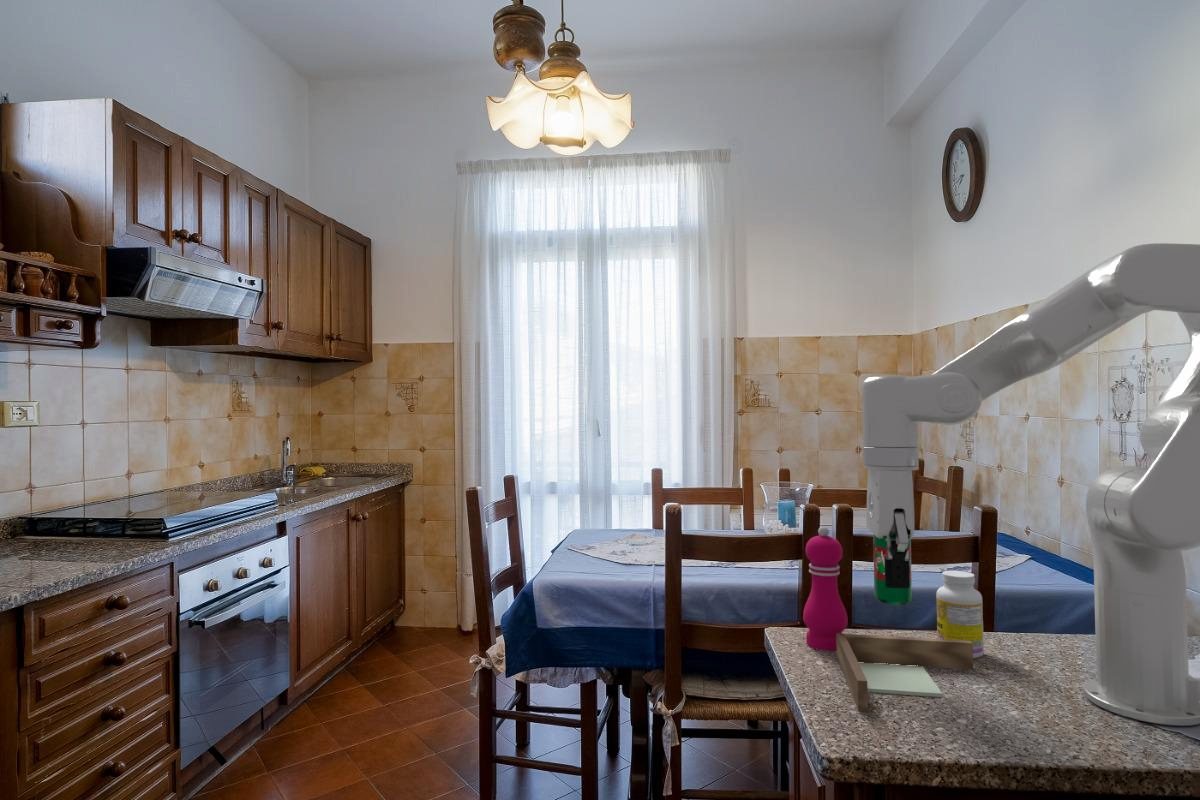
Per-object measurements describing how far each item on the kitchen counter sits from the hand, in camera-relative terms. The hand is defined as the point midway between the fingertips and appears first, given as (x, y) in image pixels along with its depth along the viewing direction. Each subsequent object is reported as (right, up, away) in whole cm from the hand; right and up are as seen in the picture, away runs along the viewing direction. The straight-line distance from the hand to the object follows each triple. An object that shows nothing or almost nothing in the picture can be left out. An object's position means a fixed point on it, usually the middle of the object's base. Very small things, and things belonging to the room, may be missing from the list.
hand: (892, 581), depth 97 cm
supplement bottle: (+16, -15, +11) cm, 24 cm away
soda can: (0, -3, 0) cm, 3 cm away
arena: (+2, -14, -3) cm, 15 cm away
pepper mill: (-5, -15, +15) cm, 22 cm away
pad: (0, -14, 0) cm, 14 cm away
